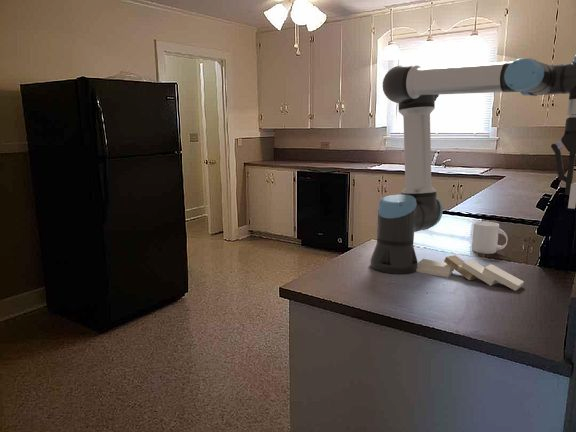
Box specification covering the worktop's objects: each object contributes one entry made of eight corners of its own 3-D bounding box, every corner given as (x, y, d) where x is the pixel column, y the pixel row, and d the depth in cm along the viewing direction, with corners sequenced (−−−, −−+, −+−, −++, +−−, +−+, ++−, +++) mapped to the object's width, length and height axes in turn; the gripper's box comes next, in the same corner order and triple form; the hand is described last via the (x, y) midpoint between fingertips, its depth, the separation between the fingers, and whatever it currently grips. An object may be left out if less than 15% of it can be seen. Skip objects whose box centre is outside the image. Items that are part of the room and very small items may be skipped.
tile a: (448, 280, 134) (415, 273, 139) (452, 275, 138) (420, 269, 143) (448, 274, 134) (416, 268, 139) (452, 270, 138) (421, 264, 143)
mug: (503, 257, 156) (506, 228, 154) (468, 251, 163) (471, 223, 161) (508, 252, 162) (511, 224, 160) (475, 247, 170) (477, 220, 168)
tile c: (490, 285, 126) (461, 267, 133) (498, 282, 129) (469, 264, 136) (493, 280, 125) (463, 262, 132) (501, 277, 129) (471, 259, 135)
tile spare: (469, 280, 130) (443, 261, 137) (478, 278, 133) (453, 259, 140) (472, 275, 130) (446, 256, 136) (481, 273, 132) (455, 255, 139)
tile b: (449, 273, 134) (417, 267, 140) (454, 269, 138) (423, 263, 144) (449, 268, 134) (418, 262, 140) (454, 264, 138) (423, 258, 144)
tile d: (515, 291, 123) (482, 272, 128) (521, 286, 126) (488, 268, 132) (518, 285, 122) (484, 267, 128) (523, 281, 125) (490, 263, 131)
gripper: (552, 116, 112) (541, 206, 116) (615, 115, 104) (601, 212, 109) (555, 117, 118) (544, 203, 122) (615, 116, 110) (601, 208, 115)
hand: (571, 207), depth 116 cm, fingers closed
